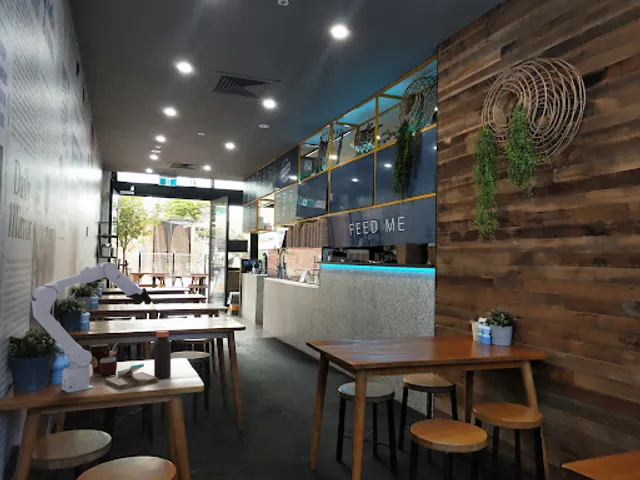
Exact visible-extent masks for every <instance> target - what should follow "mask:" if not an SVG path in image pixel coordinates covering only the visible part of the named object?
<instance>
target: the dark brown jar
mask: <svg viewBox="0 0 640 480" xmlns="http://www.w3.org/2000/svg"><path fill="white" fill-rule="evenodd" d="M88 351H89V352H90V353H91V355H92V360H91V362H90V363H91V369H92V376H99V377H101V373H100V368H99V363H100V360H101V359H102V358H103V357H104V358H106V357H110V356H111V353H110V351H112V348H111V347H110V345H109V344H107V343H104V344H103V343H98V344H93V345H91V346H90V348H89V350H88Z"/></svg>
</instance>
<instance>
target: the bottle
mask: <svg viewBox="0 0 640 480" xmlns="http://www.w3.org/2000/svg"><path fill="white" fill-rule="evenodd" d="M169 336H170V335H169V330H164V329H163V330H157V331H156V339H157V340H156V341H154V344H153V345H154V346H153V348H154V349H153V351H154V352H153V353H154V354H153V357H154V359H153V361H154V363H153V366H154V367H153V368H154V369H153V371H154V372H153V374H154V375H153V376H155V377H157V378H158V380H166V379H169V378H171V375H172V373H171V372H172V368H171V367H172V366H171V365H172V362H171V361H172V360H171V359H172V358H171V357H172V355H171V353H172V351H171V350H172V346H171V345H172V342H171V340H170V339H168V338H169Z"/></svg>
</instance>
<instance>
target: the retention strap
mask: <svg viewBox="0 0 640 480" xmlns="http://www.w3.org/2000/svg"><path fill="white" fill-rule="evenodd" d="M144 365H145V364H144V363H141V364H133V365H131V366H130V367H129V368H126V369H127V370H126V371H124V372H123V373H121V376H122V375H127V374H132V373H133V374H134V373H136V372H137V371H138V370H140V369H141V368H143V367H144Z"/></svg>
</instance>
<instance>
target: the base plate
mask: <svg viewBox="0 0 640 480" xmlns="http://www.w3.org/2000/svg"><path fill="white" fill-rule="evenodd" d="M127 369H128V368H125V369H124V368H123V369H119V370H117V376H114V377H113V376H111V377H109V378H108V377H107V378H105V379H104V381H105V382H104V383H105V385H106V386H107V385H108V386H109V387H111V388H113V389H115V390H118V391H123V390H129V389H134V388H140V387H142V386H143V387H144V386H147V385H153V384H157V383H159V379H158V378H157V377H155V376H154V375H151V374H149V373H147V372H143V371H140V372H134V373H132V374H127V375H122V376H121V373H123V372H124V371H126V370H127Z"/></svg>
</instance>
